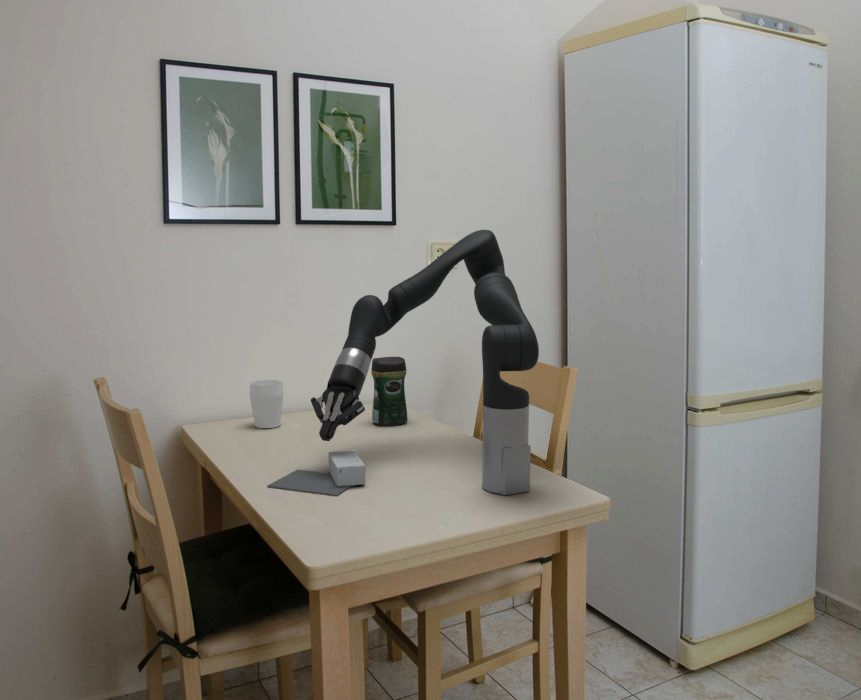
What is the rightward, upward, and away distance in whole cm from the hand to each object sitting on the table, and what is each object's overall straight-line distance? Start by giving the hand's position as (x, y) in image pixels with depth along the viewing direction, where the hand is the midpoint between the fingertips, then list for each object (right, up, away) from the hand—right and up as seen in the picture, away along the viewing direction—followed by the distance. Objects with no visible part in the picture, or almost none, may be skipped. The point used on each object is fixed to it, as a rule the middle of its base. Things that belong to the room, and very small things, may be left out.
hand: (324, 439), depth 159 cm
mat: (-1, -9, -3) cm, 9 cm away
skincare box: (+3, -5, +6) cm, 8 cm away
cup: (-22, -2, +46) cm, 51 cm away
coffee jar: (+11, -2, +50) cm, 51 cm away
